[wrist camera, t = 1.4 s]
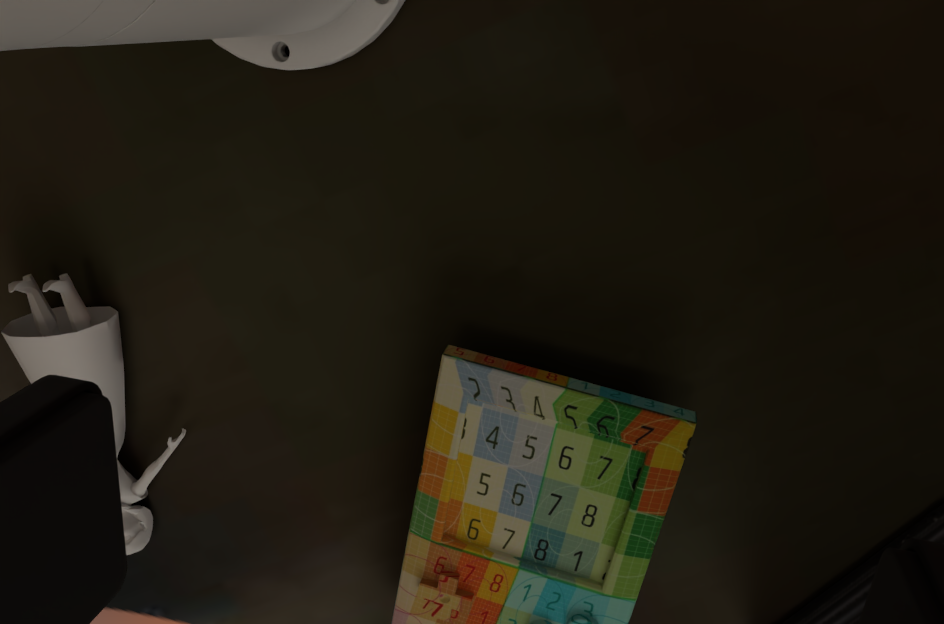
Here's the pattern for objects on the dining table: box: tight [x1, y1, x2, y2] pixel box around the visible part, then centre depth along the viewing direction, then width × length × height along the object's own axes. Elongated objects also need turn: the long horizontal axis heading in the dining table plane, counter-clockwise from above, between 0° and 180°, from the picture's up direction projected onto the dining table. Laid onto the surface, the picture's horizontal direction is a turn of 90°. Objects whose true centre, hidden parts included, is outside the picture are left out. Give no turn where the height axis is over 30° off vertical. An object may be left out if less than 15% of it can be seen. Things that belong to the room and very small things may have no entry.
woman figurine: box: [1, 273, 186, 555], centre depth 46 cm, size 12×4×18 cm
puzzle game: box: [391, 345, 697, 624], centre depth 41 cm, size 12×5×20 cm
